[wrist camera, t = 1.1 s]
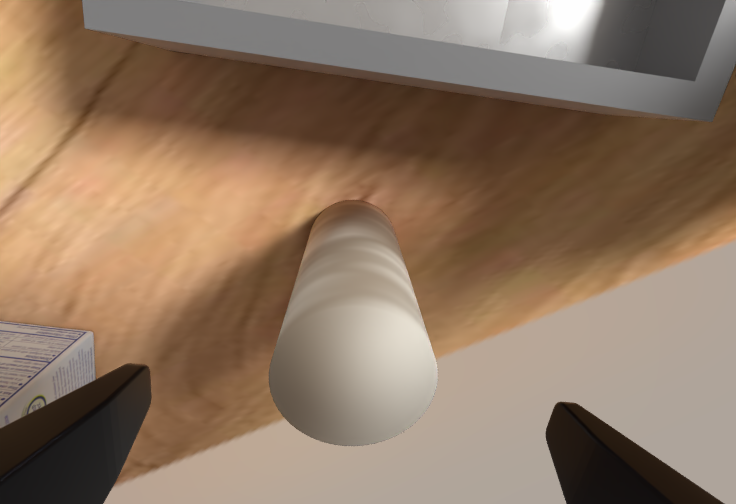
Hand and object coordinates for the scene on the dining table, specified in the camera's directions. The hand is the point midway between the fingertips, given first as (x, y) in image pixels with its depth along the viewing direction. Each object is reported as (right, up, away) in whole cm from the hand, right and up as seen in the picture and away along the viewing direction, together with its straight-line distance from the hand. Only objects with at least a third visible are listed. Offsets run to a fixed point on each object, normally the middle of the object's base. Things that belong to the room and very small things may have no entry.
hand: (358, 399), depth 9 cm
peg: (-1, +4, +10) cm, 11 cm away
